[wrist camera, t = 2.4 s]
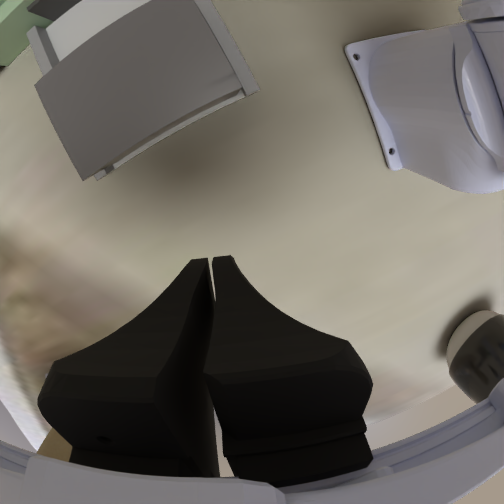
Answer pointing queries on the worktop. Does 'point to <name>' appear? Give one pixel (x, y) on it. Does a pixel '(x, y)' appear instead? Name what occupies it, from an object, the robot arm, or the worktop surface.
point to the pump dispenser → (477, 354)
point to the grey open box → (135, 83)
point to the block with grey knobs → (87, 25)
